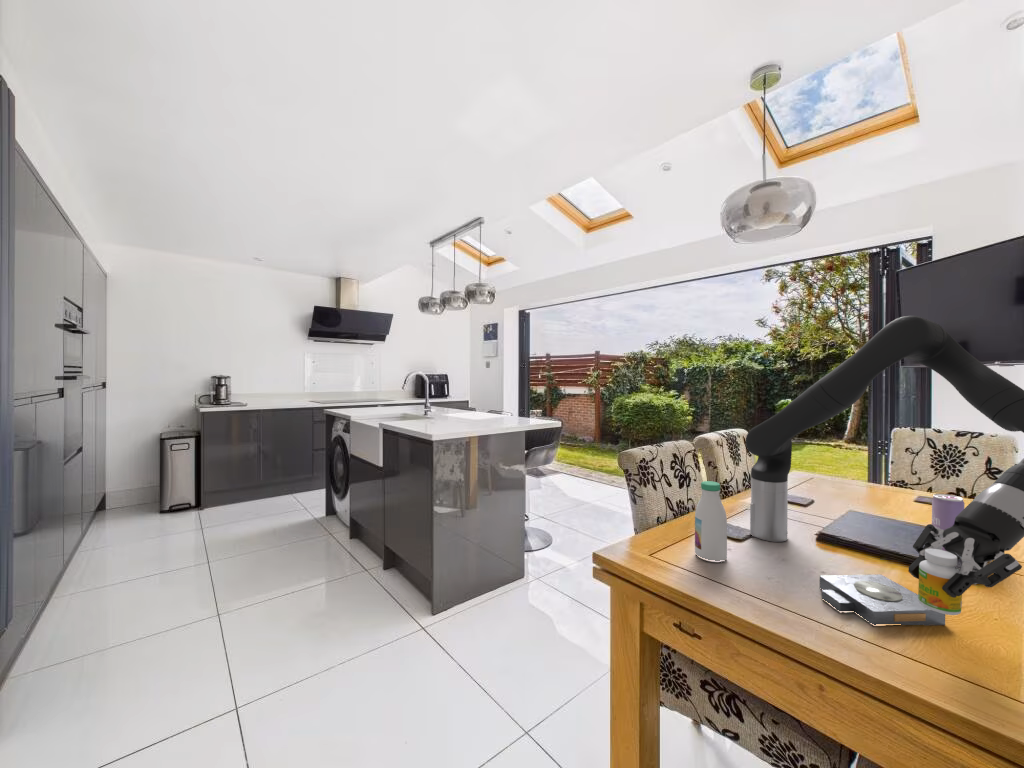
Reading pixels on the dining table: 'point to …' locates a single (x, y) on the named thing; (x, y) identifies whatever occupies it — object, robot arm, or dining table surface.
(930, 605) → the supplement bottle
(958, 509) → the beverage can
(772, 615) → the dining table surface
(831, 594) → the grey coaster with tab
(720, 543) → the milk bottle
